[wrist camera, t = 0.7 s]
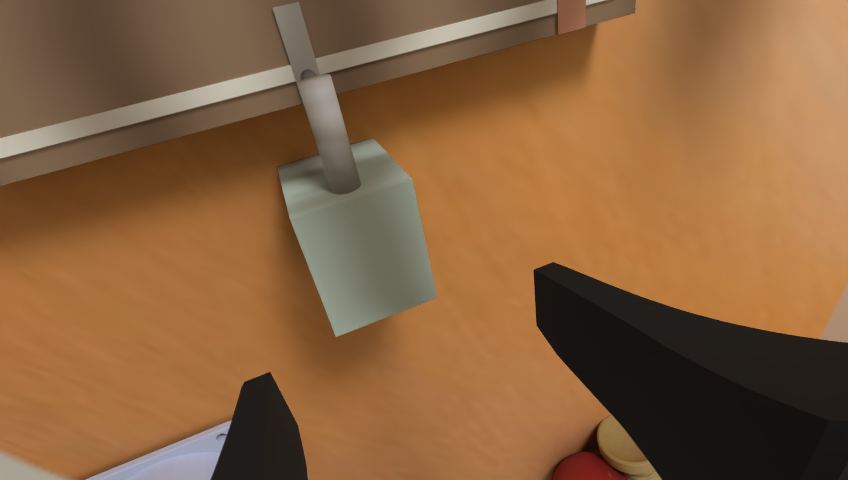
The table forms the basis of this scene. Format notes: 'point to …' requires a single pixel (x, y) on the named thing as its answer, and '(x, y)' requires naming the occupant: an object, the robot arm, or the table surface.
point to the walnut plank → (224, 62)
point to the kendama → (608, 458)
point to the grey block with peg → (355, 219)
